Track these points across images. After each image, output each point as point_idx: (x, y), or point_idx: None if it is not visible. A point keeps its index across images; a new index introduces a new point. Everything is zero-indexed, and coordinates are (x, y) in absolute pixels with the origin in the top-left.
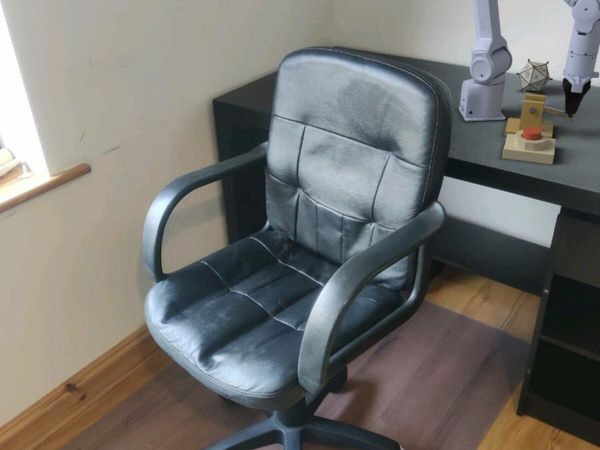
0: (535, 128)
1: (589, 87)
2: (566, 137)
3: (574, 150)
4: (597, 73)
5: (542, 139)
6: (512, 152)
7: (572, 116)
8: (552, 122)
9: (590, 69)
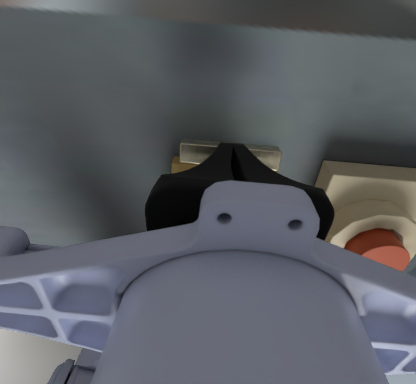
0: (369, 257)
1: (326, 199)
2: (241, 122)
3: (338, 104)
4: (265, 221)
5: (401, 228)
6: None
7: (261, 153)
8: (174, 167)
9: (377, 365)
